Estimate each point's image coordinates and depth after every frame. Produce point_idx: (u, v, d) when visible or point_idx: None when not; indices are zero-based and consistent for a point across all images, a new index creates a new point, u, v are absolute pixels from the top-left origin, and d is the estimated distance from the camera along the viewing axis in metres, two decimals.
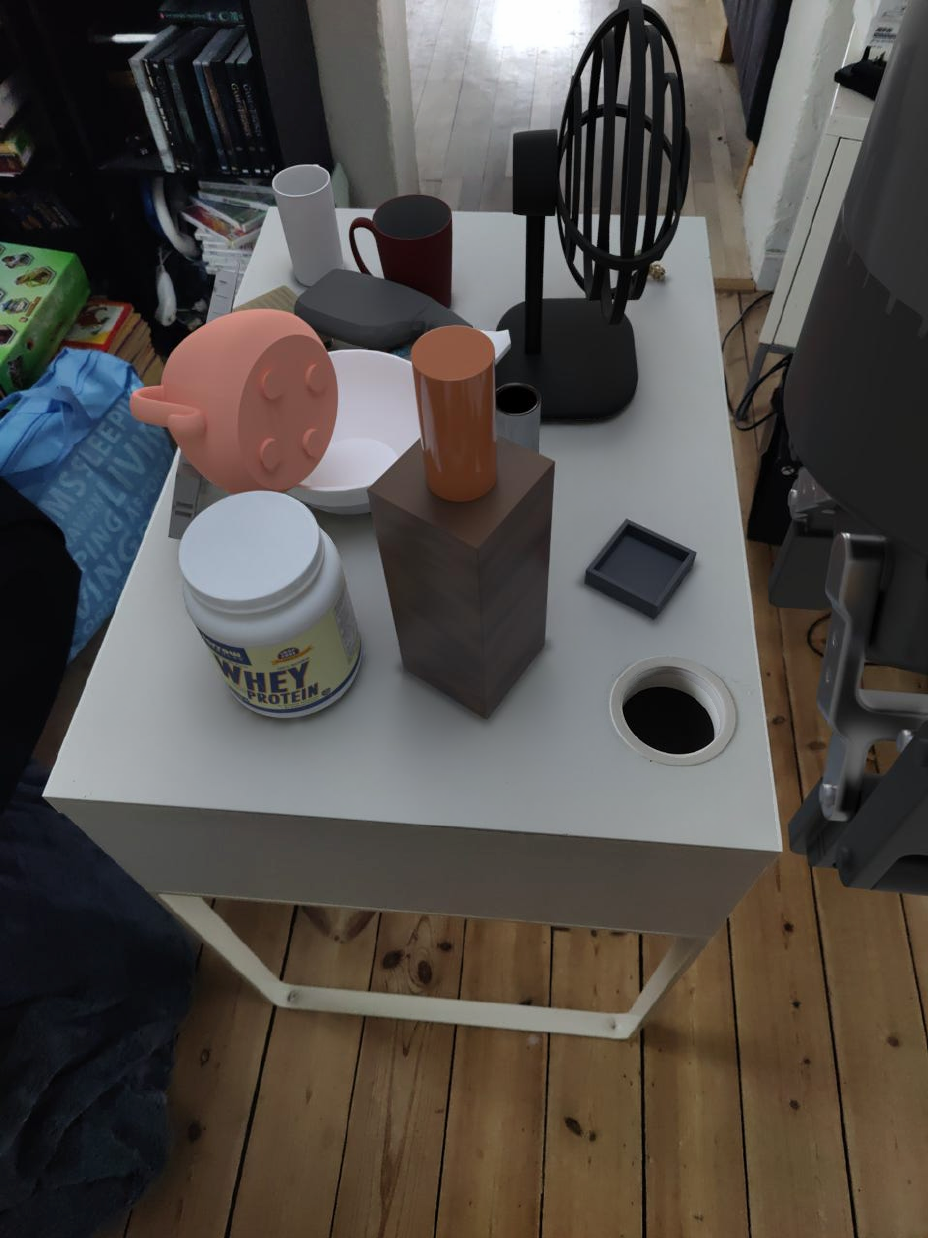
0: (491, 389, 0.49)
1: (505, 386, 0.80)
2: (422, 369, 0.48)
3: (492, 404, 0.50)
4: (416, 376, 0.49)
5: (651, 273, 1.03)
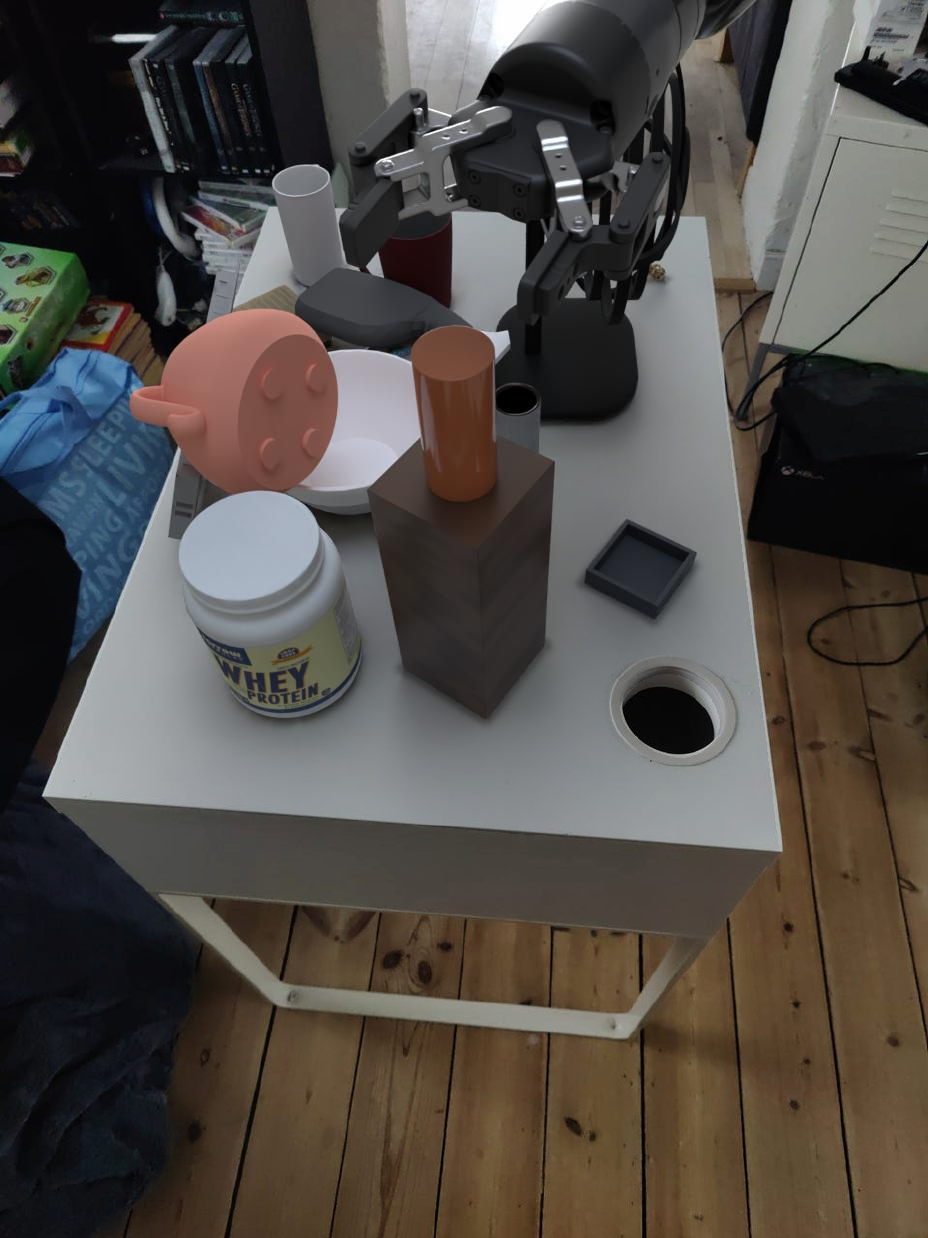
0: (491, 389, 0.49)
1: (505, 386, 0.80)
2: (422, 369, 0.48)
3: (492, 404, 0.50)
4: (416, 376, 0.49)
5: (651, 273, 1.03)
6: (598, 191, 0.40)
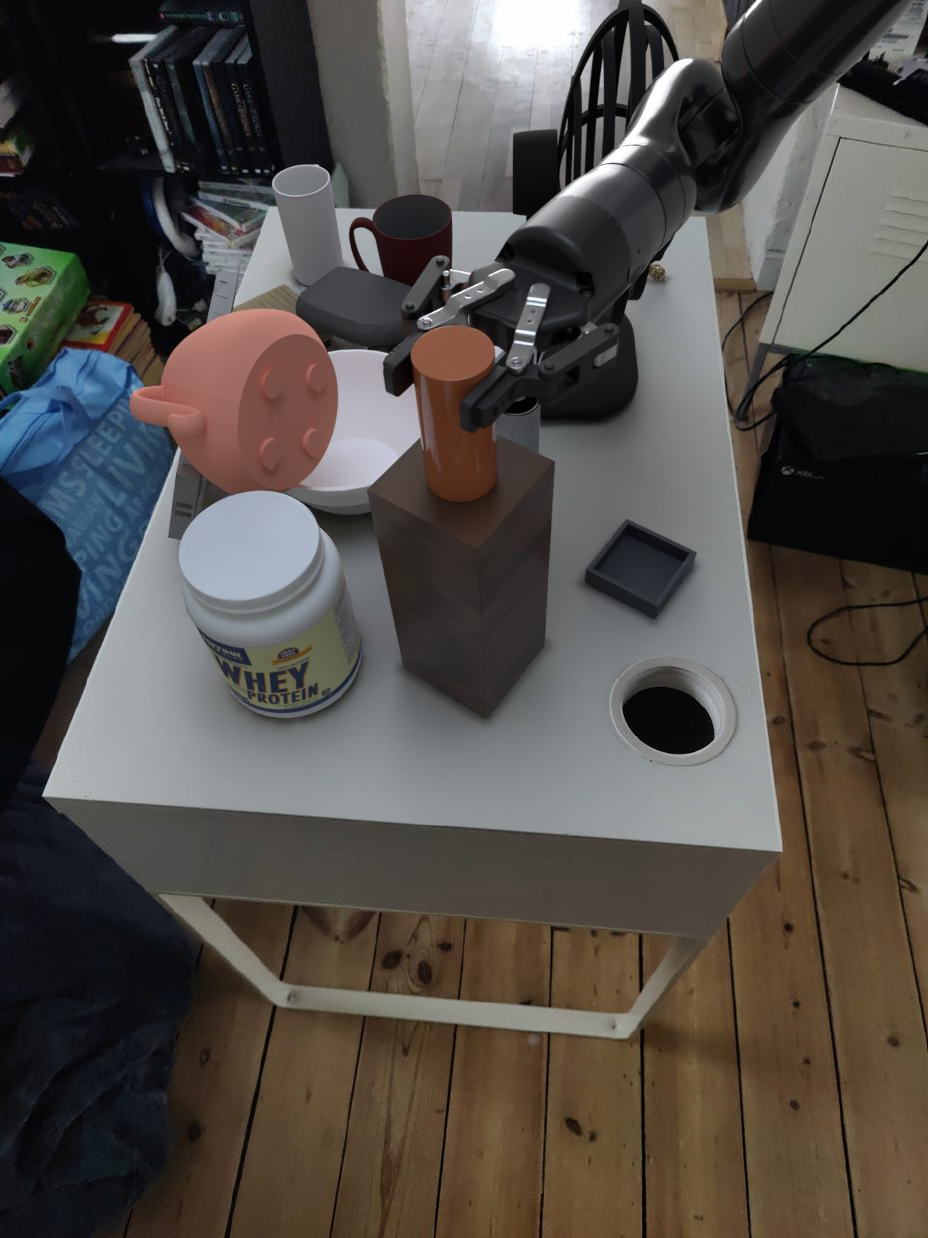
0: None
1: None
2: (422, 369, 0.48)
3: None
4: (416, 376, 0.49)
5: (651, 273, 1.03)
6: (575, 338, 0.52)
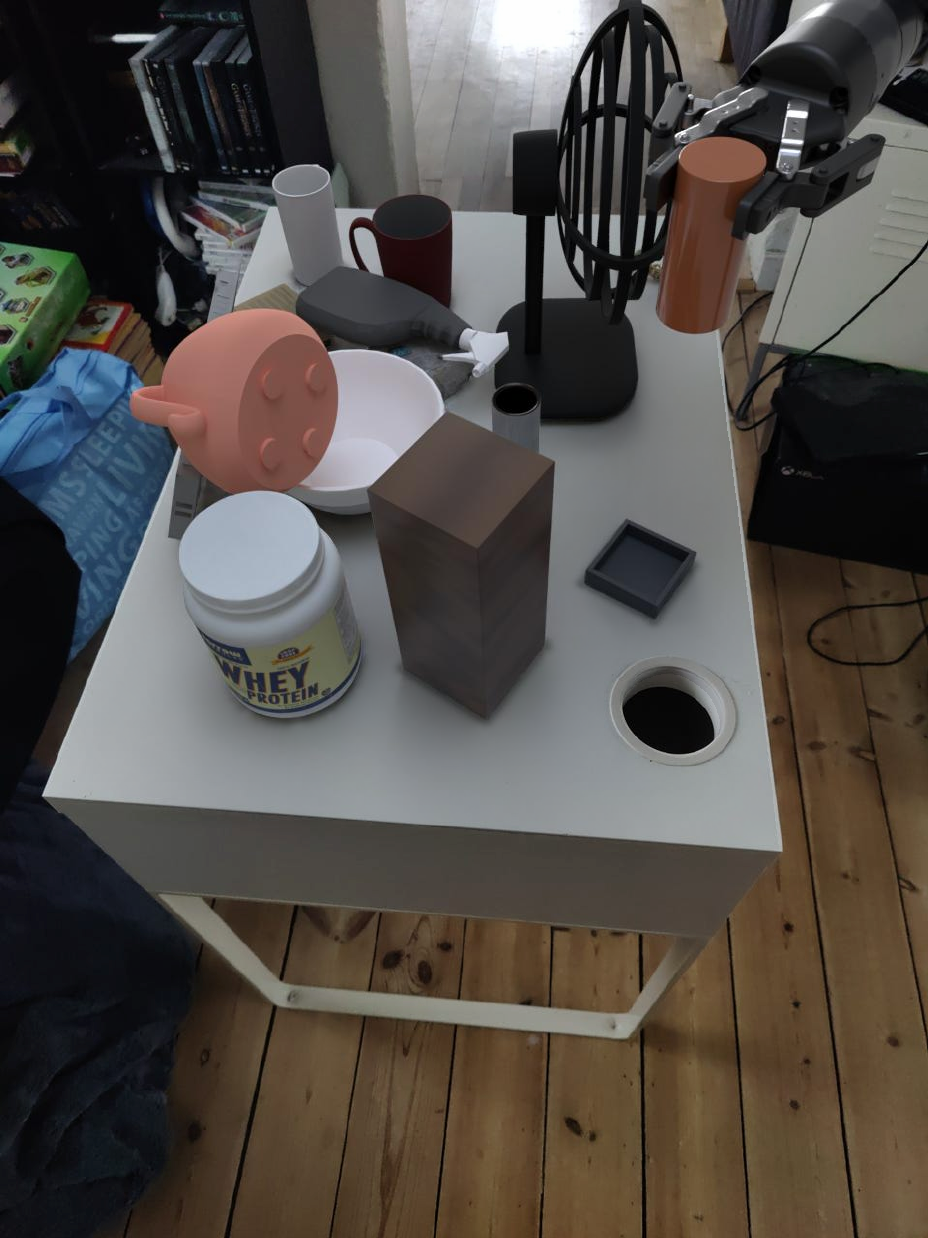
0: None
1: (505, 386, 0.80)
2: (696, 173, 0.47)
3: None
4: (686, 183, 0.48)
5: (651, 273, 1.03)
6: (829, 156, 0.51)
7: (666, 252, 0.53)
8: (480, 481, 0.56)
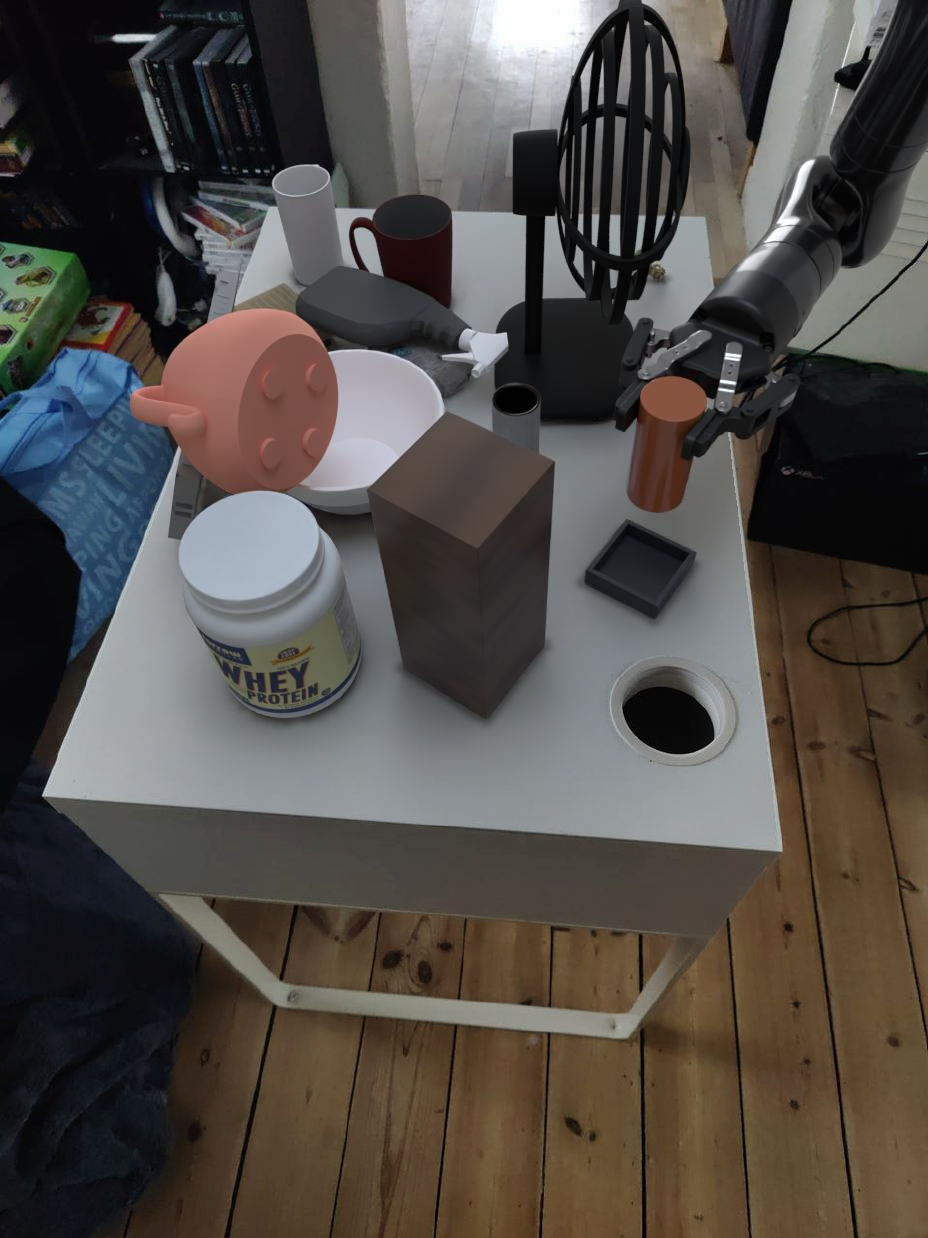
0: None
1: (505, 386, 0.80)
2: (653, 412, 0.62)
3: None
4: (645, 417, 0.63)
5: (651, 273, 1.03)
6: (759, 384, 0.66)
7: (632, 455, 0.67)
8: (480, 481, 0.56)
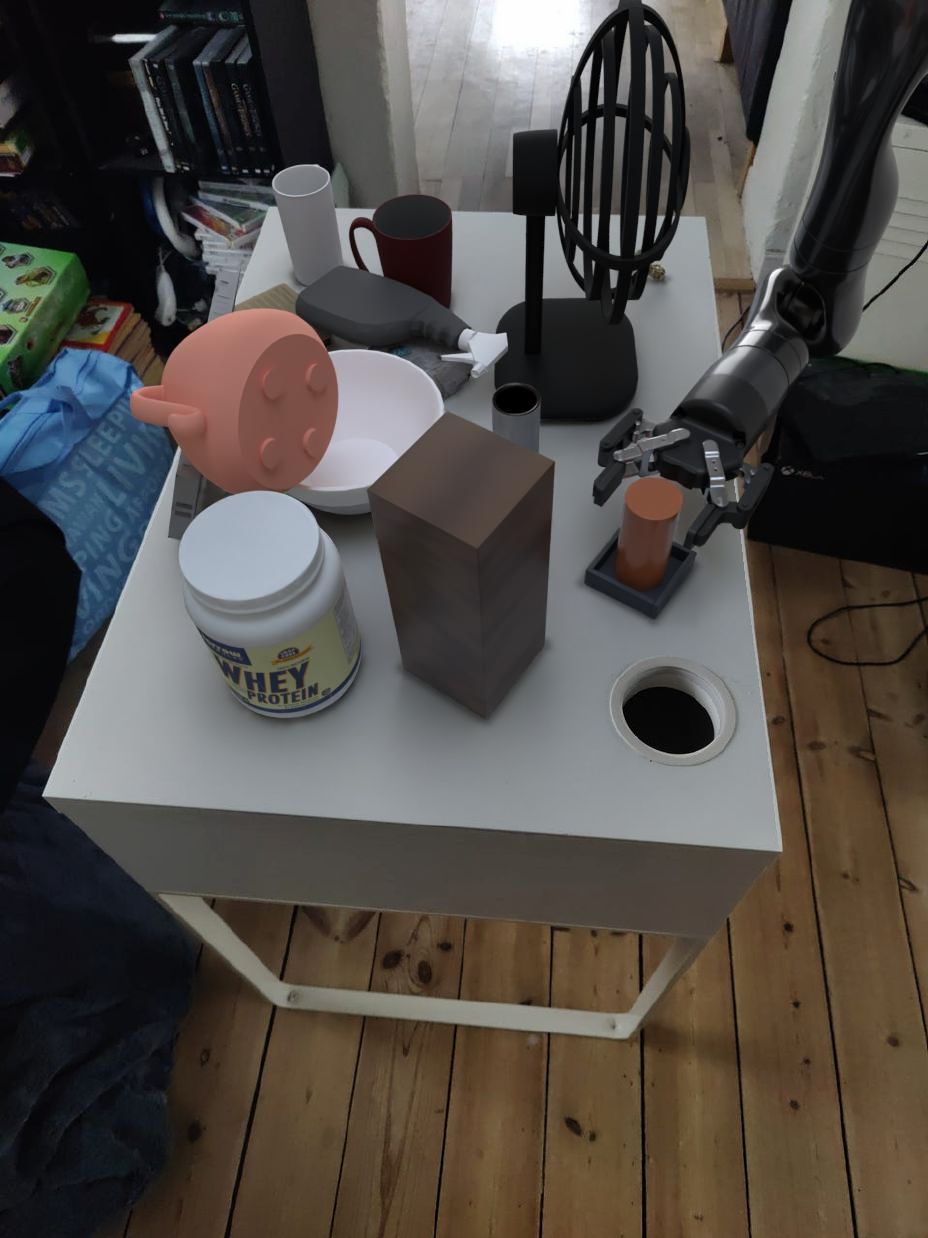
0: (677, 522, 0.72)
1: (505, 386, 0.80)
2: (635, 511, 0.71)
3: None
4: (629, 514, 0.72)
5: (651, 273, 1.03)
6: (732, 476, 0.74)
7: (619, 542, 0.76)
8: (480, 481, 0.56)
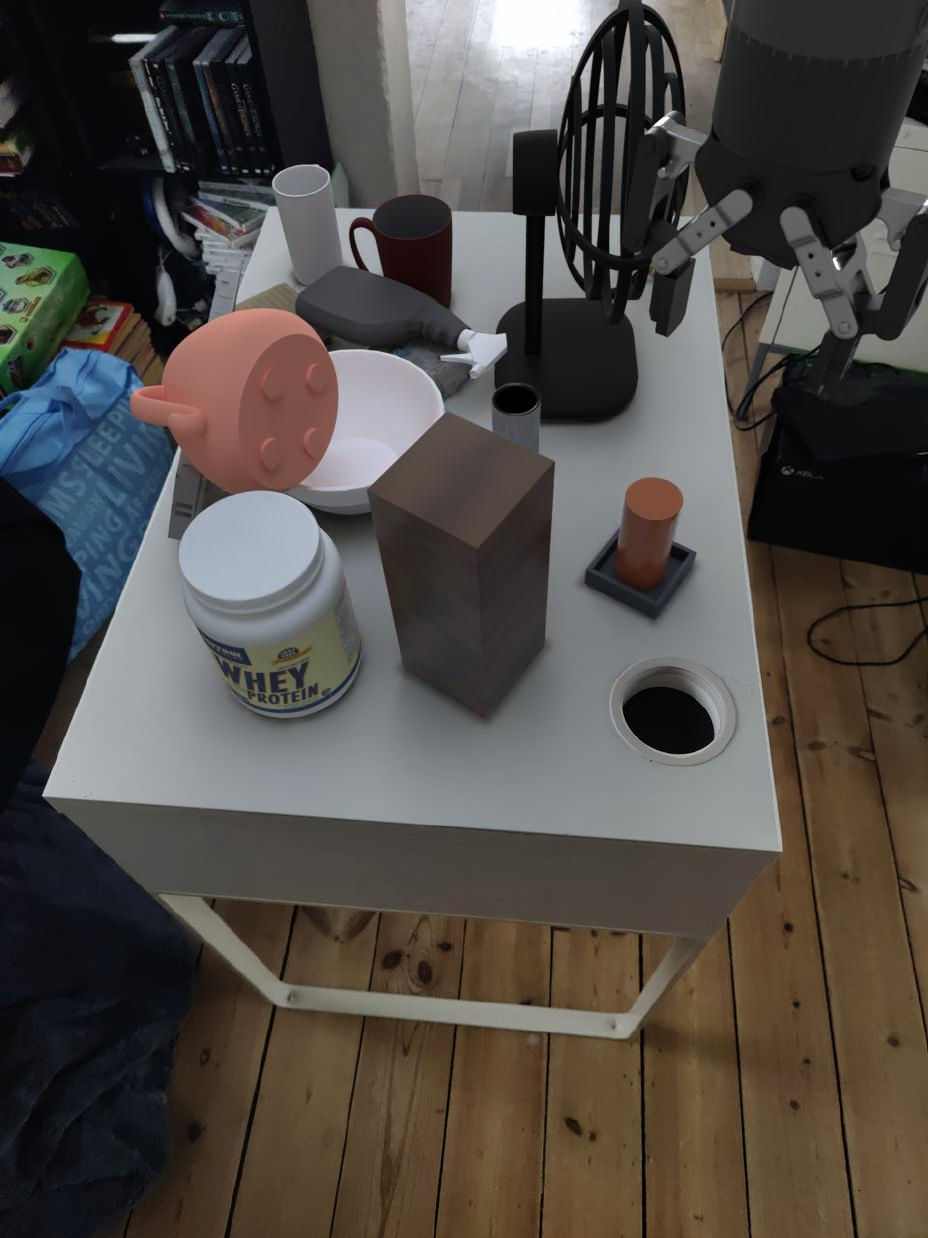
0: (677, 522, 0.72)
1: (505, 386, 0.80)
2: (635, 511, 0.71)
3: None
4: (629, 514, 0.72)
5: (651, 273, 1.03)
6: None
7: (619, 542, 0.76)
8: (480, 481, 0.56)
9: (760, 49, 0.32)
